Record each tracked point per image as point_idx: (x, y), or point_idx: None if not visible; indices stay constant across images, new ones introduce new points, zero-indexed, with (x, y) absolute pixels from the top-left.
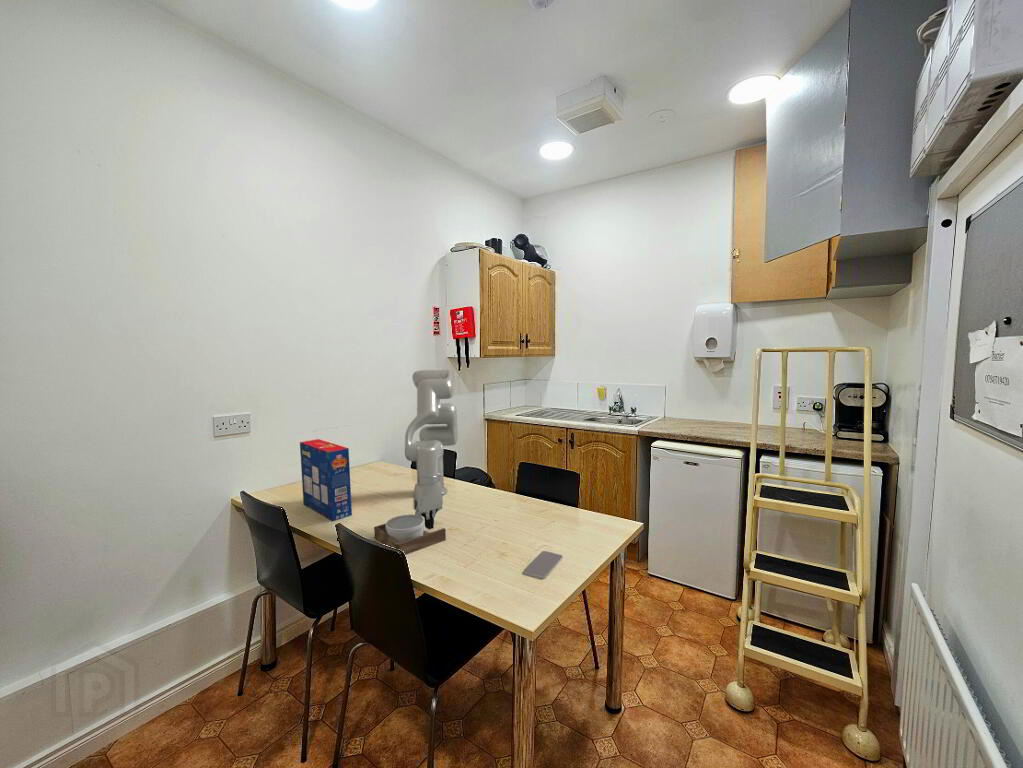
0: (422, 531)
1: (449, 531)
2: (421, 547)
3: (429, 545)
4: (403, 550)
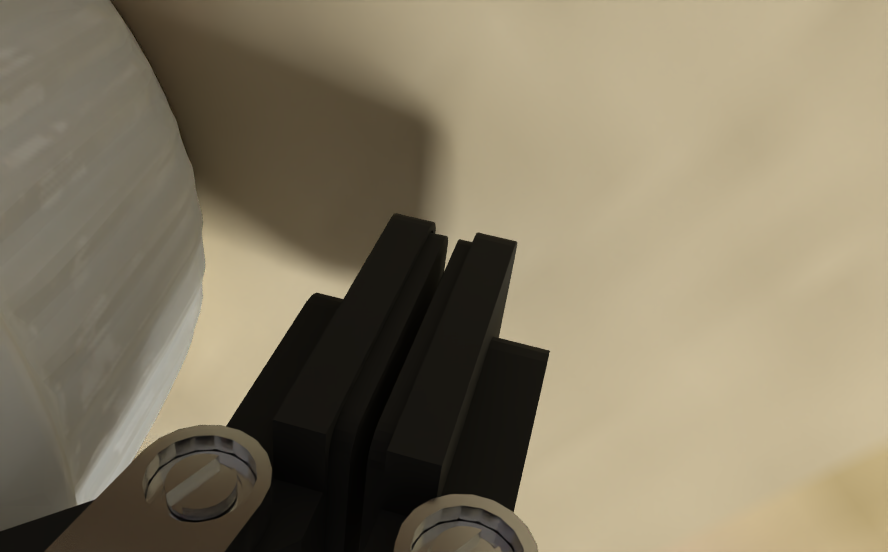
0: None
1: (751, 534)
2: None
3: None
4: None
